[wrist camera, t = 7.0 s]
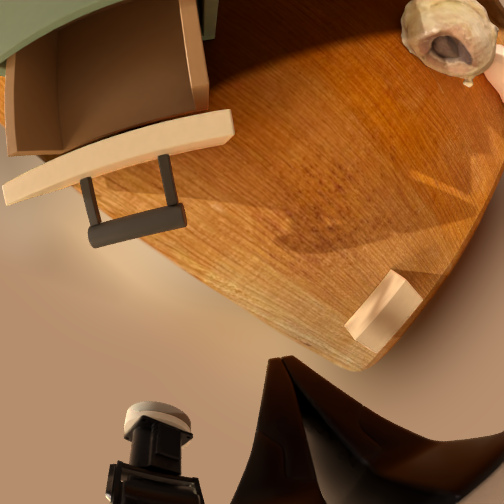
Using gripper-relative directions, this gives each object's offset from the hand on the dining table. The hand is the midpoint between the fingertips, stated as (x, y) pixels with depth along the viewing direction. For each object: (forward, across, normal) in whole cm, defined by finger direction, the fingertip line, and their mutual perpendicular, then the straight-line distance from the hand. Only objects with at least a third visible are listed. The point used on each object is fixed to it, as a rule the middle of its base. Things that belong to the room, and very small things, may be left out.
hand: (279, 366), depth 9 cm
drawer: (+12, +7, -11) cm, 18 cm away
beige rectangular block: (+13, -13, +7) cm, 20 cm away
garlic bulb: (+13, -19, -20) cm, 30 cm away
